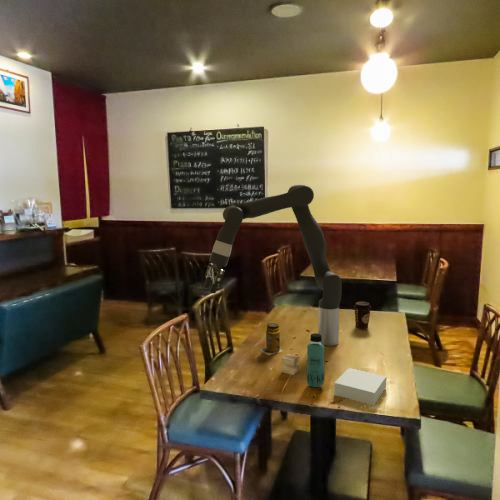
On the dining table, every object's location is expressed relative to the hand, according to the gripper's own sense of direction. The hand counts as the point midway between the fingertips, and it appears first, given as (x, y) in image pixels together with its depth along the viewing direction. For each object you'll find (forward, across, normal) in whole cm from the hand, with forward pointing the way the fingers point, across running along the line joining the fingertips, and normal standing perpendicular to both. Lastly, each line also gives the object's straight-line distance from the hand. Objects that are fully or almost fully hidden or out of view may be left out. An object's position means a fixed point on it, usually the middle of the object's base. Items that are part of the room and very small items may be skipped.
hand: (209, 290), depth 174 cm
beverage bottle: (+19, -39, -36) cm, 57 cm away
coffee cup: (+1, +5, -88) cm, 88 cm away
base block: (+14, -49, -48) cm, 70 cm away
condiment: (+20, -2, -36) cm, 41 cm away
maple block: (+20, -24, -34) cm, 46 cm away
